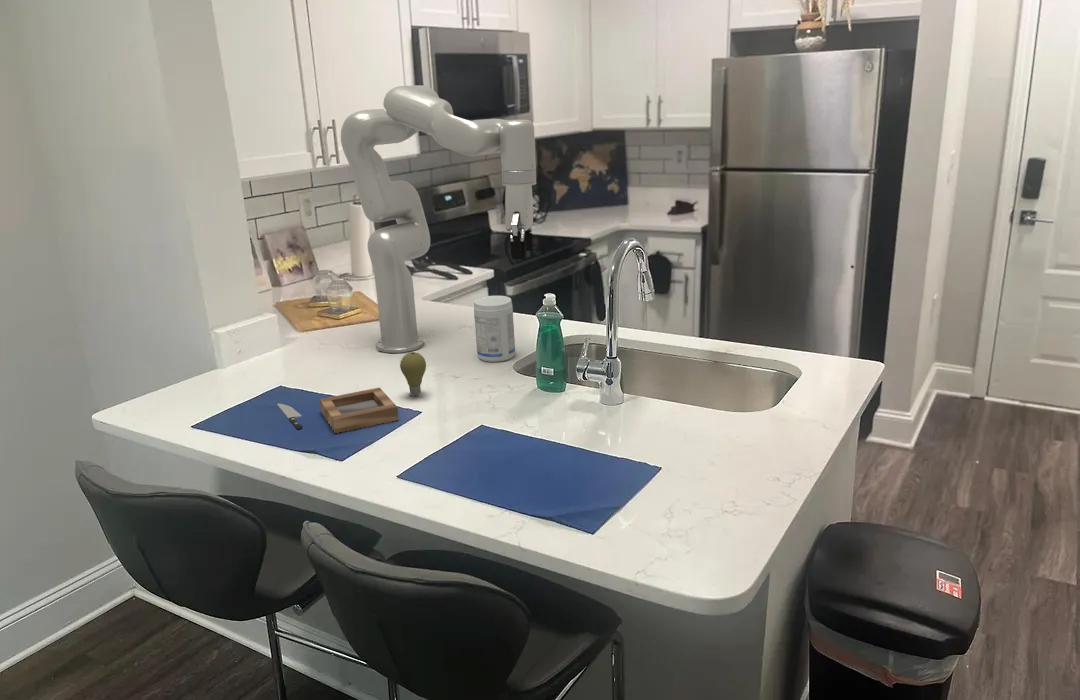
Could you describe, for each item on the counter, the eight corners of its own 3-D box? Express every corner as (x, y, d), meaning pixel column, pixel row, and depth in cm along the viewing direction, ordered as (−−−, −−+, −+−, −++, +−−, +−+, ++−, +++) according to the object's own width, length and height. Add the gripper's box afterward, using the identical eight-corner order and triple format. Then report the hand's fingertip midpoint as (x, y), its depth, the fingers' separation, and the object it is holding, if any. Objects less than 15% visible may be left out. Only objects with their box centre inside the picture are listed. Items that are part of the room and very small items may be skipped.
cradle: (321, 412, 171) (319, 399, 170) (380, 400, 177) (379, 387, 176) (335, 433, 160) (333, 419, 159) (398, 420, 165) (397, 406, 164)
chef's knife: (288, 401, 180) (274, 403, 178) (288, 396, 179) (274, 398, 178) (312, 429, 164) (297, 431, 162) (312, 423, 164) (297, 426, 162)
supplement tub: (500, 348, 208) (497, 293, 204) (523, 356, 201) (520, 299, 197) (469, 357, 203) (465, 300, 198) (491, 365, 196) (488, 307, 191)
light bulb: (433, 394, 178) (430, 351, 175) (413, 402, 175) (409, 358, 172) (417, 389, 182) (414, 347, 179) (398, 396, 178) (393, 353, 175)
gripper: (509, 174, 186) (512, 247, 192) (494, 183, 170) (498, 262, 176) (541, 173, 185) (544, 247, 191) (529, 182, 169) (532, 262, 174)
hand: (522, 254), depth 183 cm, fingers open, 9 cm apart
